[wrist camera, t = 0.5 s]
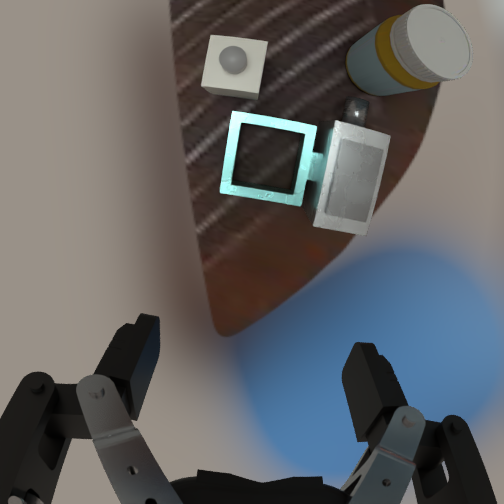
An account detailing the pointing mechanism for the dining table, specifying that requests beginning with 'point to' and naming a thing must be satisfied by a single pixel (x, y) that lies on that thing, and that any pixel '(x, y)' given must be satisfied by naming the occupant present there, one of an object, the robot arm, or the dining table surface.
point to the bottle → (410, 52)
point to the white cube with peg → (234, 66)
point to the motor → (322, 168)
